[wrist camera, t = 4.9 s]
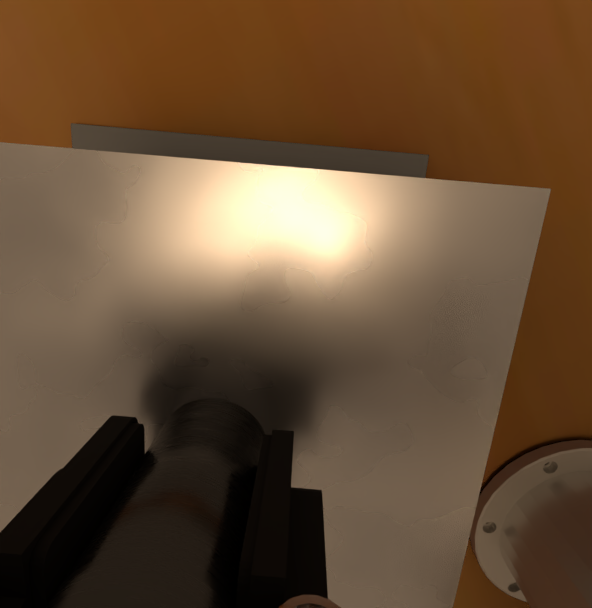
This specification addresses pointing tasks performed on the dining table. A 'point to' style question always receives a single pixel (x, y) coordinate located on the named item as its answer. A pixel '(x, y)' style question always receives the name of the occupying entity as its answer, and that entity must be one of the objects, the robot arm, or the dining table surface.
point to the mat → (247, 151)
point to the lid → (258, 360)
